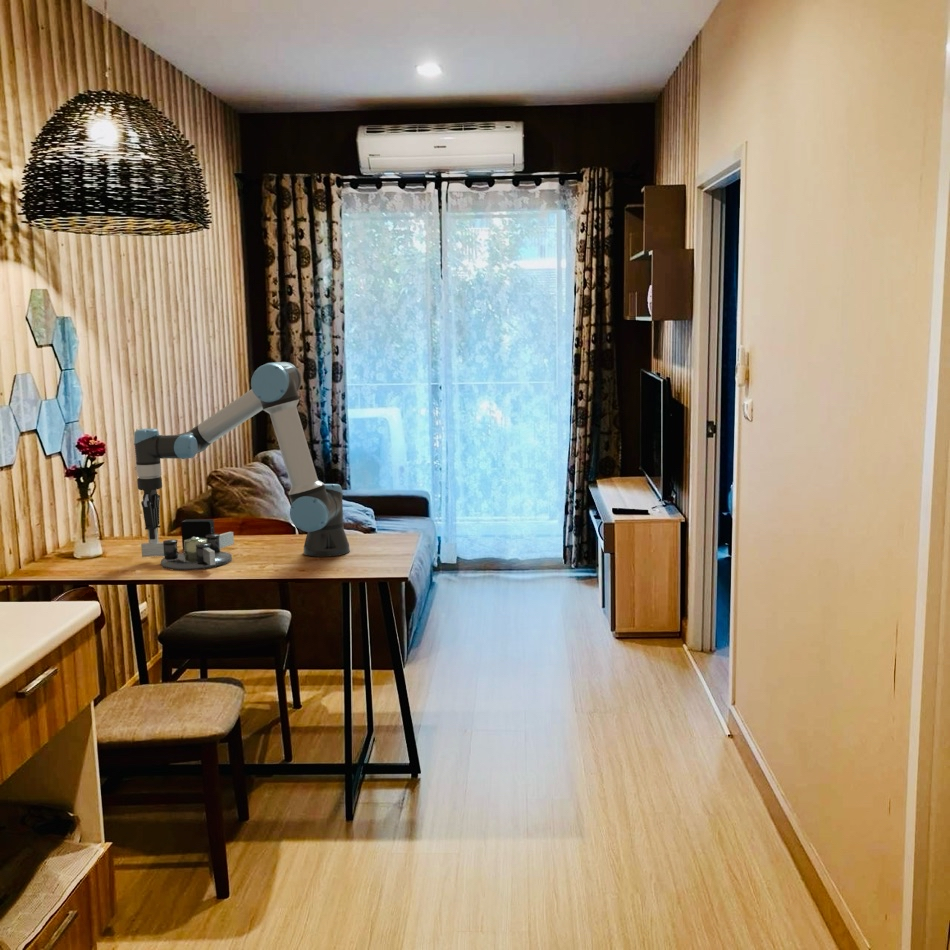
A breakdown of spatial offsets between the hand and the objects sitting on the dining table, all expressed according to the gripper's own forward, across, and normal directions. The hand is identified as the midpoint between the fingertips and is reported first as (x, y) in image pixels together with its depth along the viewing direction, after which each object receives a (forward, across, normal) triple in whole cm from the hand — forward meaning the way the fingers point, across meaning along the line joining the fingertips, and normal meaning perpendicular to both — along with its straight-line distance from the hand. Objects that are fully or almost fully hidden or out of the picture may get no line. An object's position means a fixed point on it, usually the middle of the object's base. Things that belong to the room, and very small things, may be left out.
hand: (154, 548), depth 315 cm
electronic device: (+4, -15, +11) cm, 19 cm away
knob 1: (+2, +5, +3) cm, 6 cm away
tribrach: (+4, +4, +14) cm, 16 cm away
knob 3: (+2, -5, +20) cm, 21 cm away
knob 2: (+2, +14, +20) cm, 25 cm away
